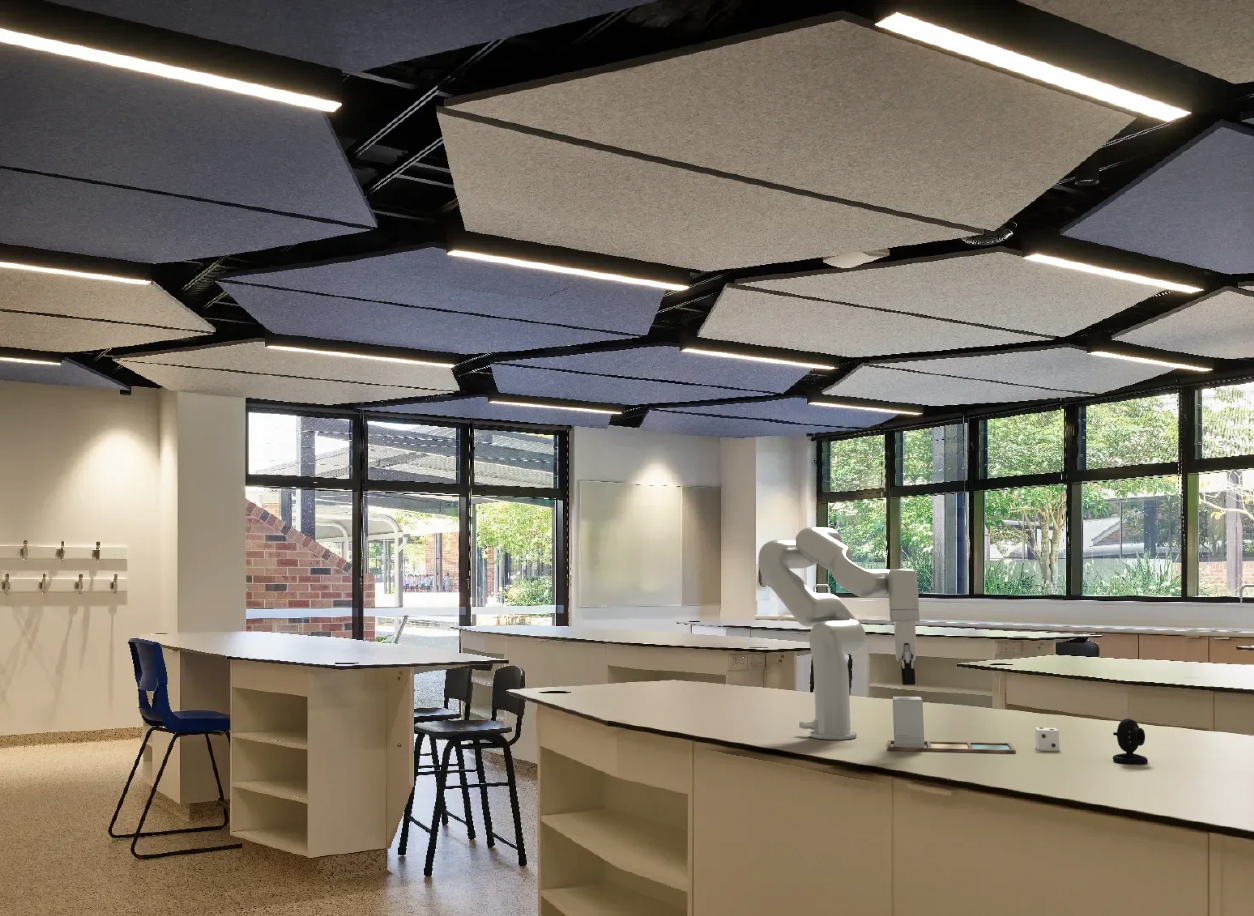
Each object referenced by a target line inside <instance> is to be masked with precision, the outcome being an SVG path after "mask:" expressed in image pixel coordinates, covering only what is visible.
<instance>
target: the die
mask: <svg viewBox="0 0 1254 916" xmlns="http://www.w3.org/2000/svg"><path fill="white" fill-rule="evenodd" d="M1034 733H1035V735H1034V736H1035V748H1036V749H1037V751H1053V752H1055V751H1056V752H1057V751H1058V752H1059V751H1060V748H1061V747H1060V732H1059V729H1058V728H1057V727H1043V726H1042V727H1034Z"/></svg>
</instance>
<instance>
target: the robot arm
mask: <svg viewBox="0 0 1254 916" xmlns="http://www.w3.org/2000/svg"><path fill="white" fill-rule="evenodd" d="M852 560H853V552H852V549H851V547H849V546H848V545H846V544H844V543H843V538H842V536H841V534H840V533H839V532H838V531H837V530H836V529H834V528H832V527H823V526H821V527H820V526H810V527H809V526H808V527H805V528H803V529H801V530H800V531H799V532H798V533H797V535H796V536H795V539H773V540H769V541H767V542H765V543H764V544H763V545H762V546H761V548H760V550H759V552H758V558H757V561H758V567H759V572H760V575H761V576H762V578H763V580H764V582H765V583H766V584H767V585H768V587H769V588H770V589H771V590H772V591H773V592H774V593H775V594H776V595H777V597H778V598H779V599H780V600H781V602H782V603H783V604H784V606H785V607H786V609H787V610H788V611H789V613H790V614H791V615H792V616H793V618H794V619H795V620H796V621H797V622H798V623H799V624H800V625H801V626H804V627H807V628H808V627H809V628H811V627H812V628H811V630H810V632H809V635H808V642H809V643H808V644H809V647H810V652H811V657H812V664H813V665H812V667H813V684H814V685H813V686H814V714H815V715H814V720H810V721H799V723H798V725H799V729H802V730H808V729H810V730H811V731H810V732H809V736H810V737H811V738H813V739H819V740H833V741H835V740H836V741H838V740H839V741H841V740H842V741H843V740H850V739H851V740H852V739H856V738H857V736H858V735H857V732H856V731H853V730H852V727H851V705H850V703H851V700H850V699H851V697H850V675H849V673H850V672H849V668H848V664H847V661H846V660H845V659H846V658H845V657H844V655H850V654H851V655H852V654H856V653H859V652H860V651H861V650H863V649H864V647H865V646H866V643H867V635H866V631H865V628H864V626H863V625H862V624H861V622H860V621H859V619H858V618H857V617H856V615H854V614H853V613H852V611H851V610H850V609H849V607H848V606H847V605H846V603H844V602H843V600H842V599H841V598H840V597H838V596H837V595H835V594H833V593H829V592H815V591H813V590H812V589H811V588H810V587H809V586H808V585H807V583H806V582H805V581H804V580H803V578H802V577H800V576H799V575H798V574H796V573H795V572H793V570H791V569H796V570H797V569H806V568H809V567H812V566H815V565H817V564H818V565H820V566H821V567H822V568H824V569H826V570H828V572H830V573H831V576H832V577H833V579H834V581H835V582H836V583H837V585H839V586H840V587H842V589H845V590H846V591H849V592H850V593H851V594H853V595H855V596H857V597H860V598H863V599H864V598H866V599H867V598H868V599H869V598H888V604H889V605H888V607H889V608H888V609H889V619H890V620H889V622H890V623H894V646H895V647H894V650H895V660H896V661H898V662H899V661H900V659H901V667H900V668H901V669H900V670H901V682H902V685H903V686H914V685H916V674H915V673H916V671H915V669H916V668H915V667H914V661H915V660H916V658H917V657H916V656H917V655H916V654H917V635H916V634H917V633H916V632H917V631H916V623H918V622H921V618H920V602H919V589H918V588H919V587H918V573H917V571H916V570H915V569H913V568H893V569H889V568H888V569H887V568H886V569H885V568H866V569H865V568H864V567H861V566H860V565H857V564H855V563H854V562H852Z"/></svg>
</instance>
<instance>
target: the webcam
mask: <svg viewBox="0 0 1254 916" xmlns="http://www.w3.org/2000/svg"><path fill="white" fill-rule="evenodd" d="M1112 735H1113V736H1116V739H1117V744H1118V746H1119V748H1120V749H1121V750H1122V751H1124V753H1118V754H1115V755H1113V756H1112V761H1113V762H1115V763H1116V764H1117V763H1118V764H1121V765H1139V766H1140V765H1146V764H1147V763H1148V762H1149V760H1148V757H1146V756H1145V755H1140V754H1137V753H1135V752H1136V751H1137V749H1138V748H1139V746H1143V745H1144V744H1145V741H1146V733H1145V730H1144V728H1142V727H1140V726H1139V724H1138V722H1137V721H1136V720H1134V719H1132V718H1124V719H1122V720H1120V722H1119V723H1118V725H1117V730H1116V731H1115V732H1112Z"/></svg>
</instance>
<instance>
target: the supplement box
mask: <svg viewBox="0 0 1254 916" xmlns="http://www.w3.org/2000/svg"><path fill="white" fill-rule="evenodd" d="M892 716H893V717H892V718H893V719H892V721H893V722H892V723H893V740H894V744H893V745H894V747H919V748H925V745H924V741H925V727H924V702H923V699H922V697H921V696H892Z"/></svg>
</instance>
